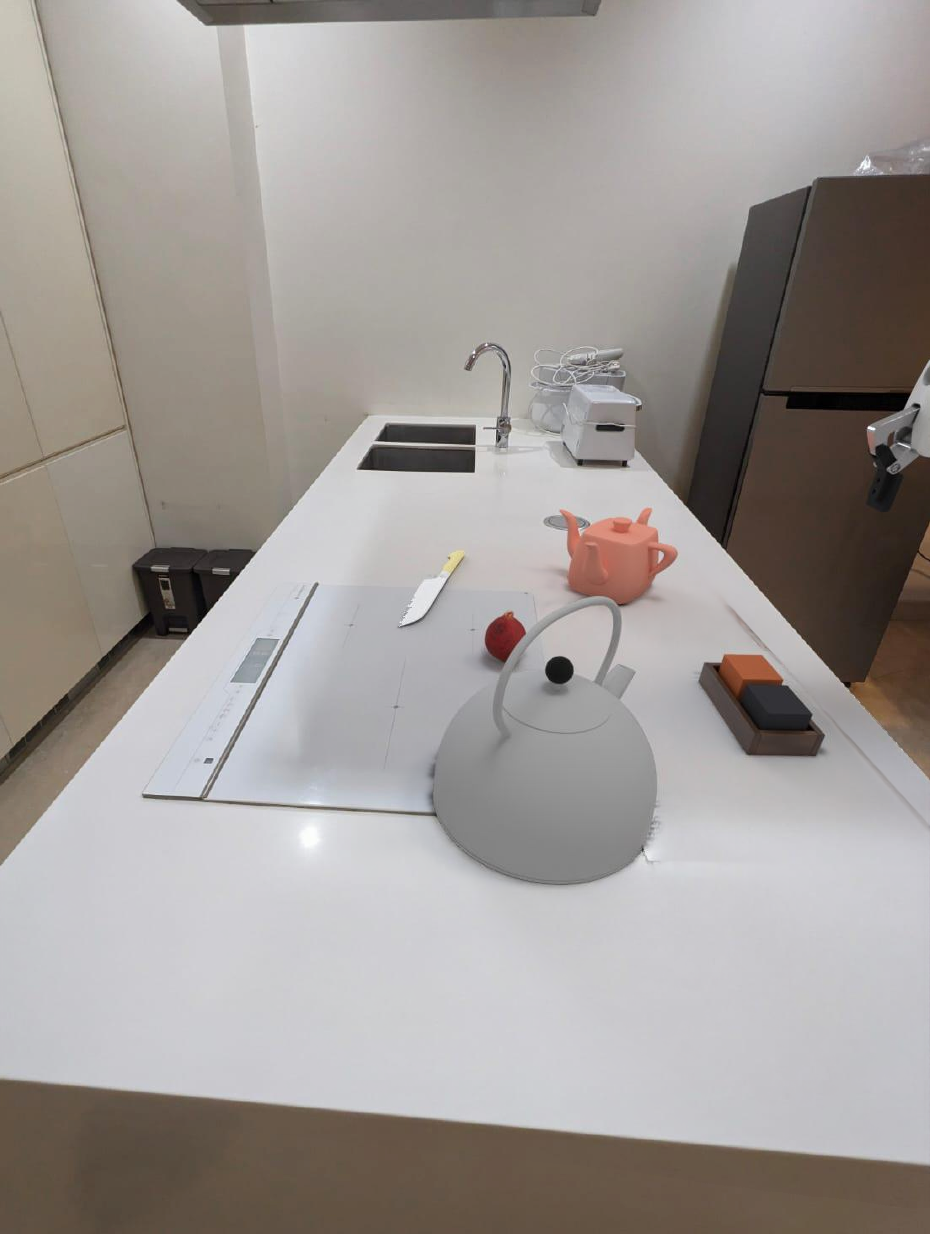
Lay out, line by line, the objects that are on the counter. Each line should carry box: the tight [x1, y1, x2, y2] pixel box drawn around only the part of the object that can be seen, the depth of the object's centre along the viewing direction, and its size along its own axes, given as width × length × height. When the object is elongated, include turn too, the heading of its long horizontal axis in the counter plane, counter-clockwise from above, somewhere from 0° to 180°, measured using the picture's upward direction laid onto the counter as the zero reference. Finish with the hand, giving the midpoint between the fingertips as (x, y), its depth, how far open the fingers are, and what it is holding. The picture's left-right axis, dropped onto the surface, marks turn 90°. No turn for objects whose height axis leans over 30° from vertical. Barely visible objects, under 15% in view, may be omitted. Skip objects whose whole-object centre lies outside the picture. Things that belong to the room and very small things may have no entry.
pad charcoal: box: [740, 684, 814, 731], centre depth 75 cm, size 5×6×5 cm
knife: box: [399, 549, 466, 627], centre depth 111 cm, size 1×33×5 cm
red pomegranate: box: [484, 609, 527, 663], centre depth 88 cm, size 6×6×8 cm
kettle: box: [432, 596, 658, 885], centre depth 61 cm, size 25×23×22 cm
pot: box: [558, 507, 679, 605], centre depth 109 cm, size 18×17×12 cm
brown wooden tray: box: [698, 661, 826, 757], centre depth 78 cm, size 8×16×4 cm, turn 0°
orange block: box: [718, 653, 784, 703], centre depth 81 cm, size 5×6×5 cm
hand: (921, 508), depth 68 cm, fingers open, 9 cm apart
